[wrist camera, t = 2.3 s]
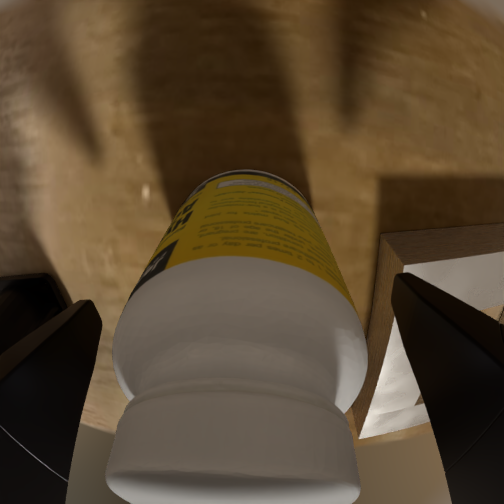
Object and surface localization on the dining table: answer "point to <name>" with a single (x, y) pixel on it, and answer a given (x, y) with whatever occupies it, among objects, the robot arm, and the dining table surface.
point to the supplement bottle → (239, 356)
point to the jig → (385, 326)
